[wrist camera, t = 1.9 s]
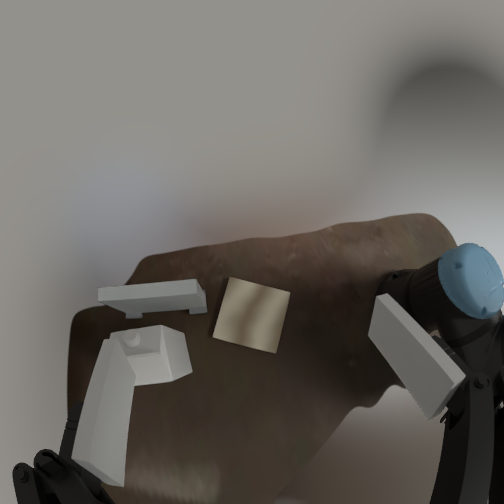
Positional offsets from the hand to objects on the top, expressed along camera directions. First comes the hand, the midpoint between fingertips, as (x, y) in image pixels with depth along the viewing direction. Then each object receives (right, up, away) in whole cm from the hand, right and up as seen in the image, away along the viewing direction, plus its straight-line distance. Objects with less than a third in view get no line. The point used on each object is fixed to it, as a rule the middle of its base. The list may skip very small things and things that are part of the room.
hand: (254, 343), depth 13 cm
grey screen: (-16, -5, +34) cm, 38 cm away
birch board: (0, -7, +34) cm, 35 cm away
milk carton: (-14, -14, +31) cm, 37 cm away
